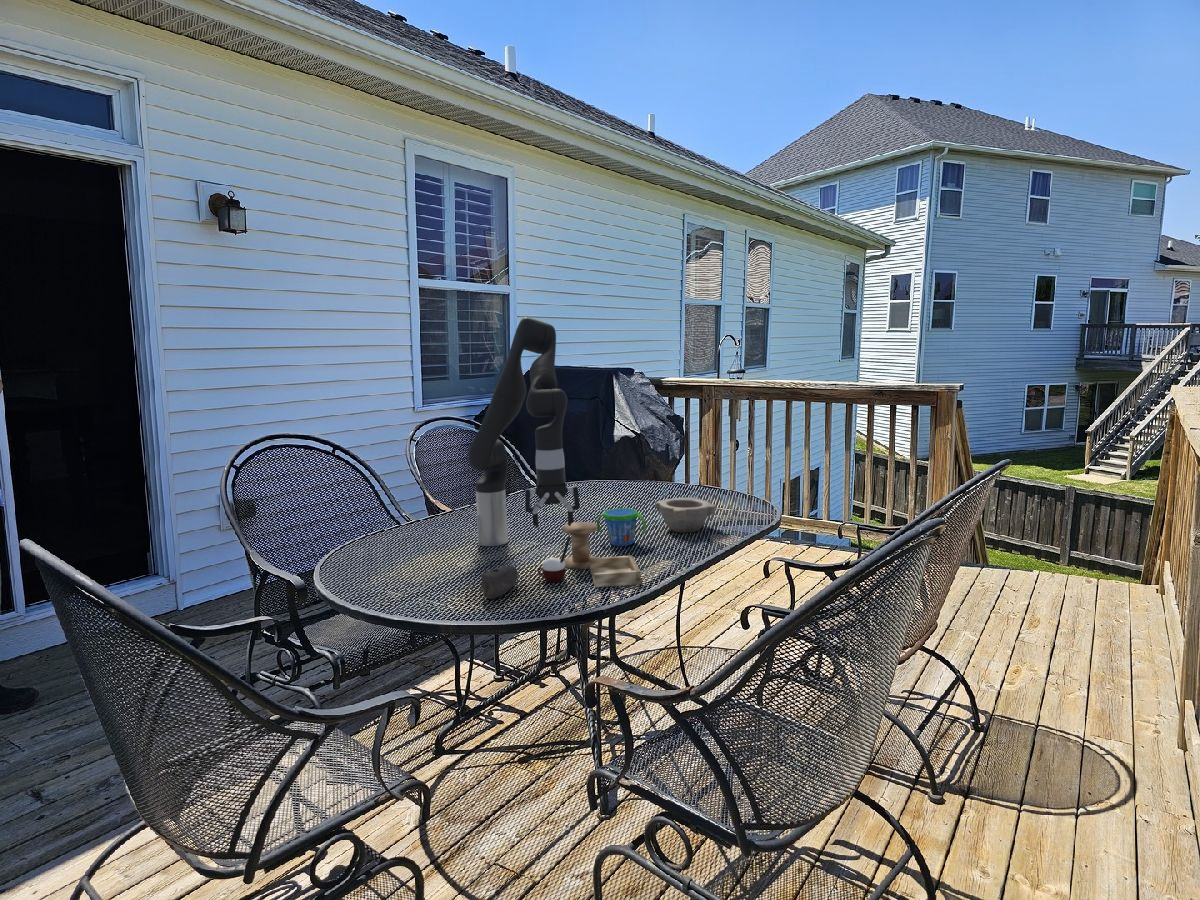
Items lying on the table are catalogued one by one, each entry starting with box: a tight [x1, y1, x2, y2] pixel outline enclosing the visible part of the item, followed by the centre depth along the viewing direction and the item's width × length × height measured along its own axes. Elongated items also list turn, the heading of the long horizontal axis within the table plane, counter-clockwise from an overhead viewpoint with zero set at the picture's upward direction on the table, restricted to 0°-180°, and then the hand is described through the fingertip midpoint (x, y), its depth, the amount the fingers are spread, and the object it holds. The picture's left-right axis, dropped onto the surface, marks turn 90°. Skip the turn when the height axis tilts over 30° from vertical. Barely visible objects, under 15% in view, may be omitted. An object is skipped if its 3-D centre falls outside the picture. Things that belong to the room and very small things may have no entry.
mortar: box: [654, 496, 718, 533], centre depth 242 cm, size 17×17×9 cm
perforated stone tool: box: [480, 565, 519, 600], centre depth 187 cm, size 15×5×7 cm, turn 153°
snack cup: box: [596, 507, 647, 547], centre depth 228 cm, size 16×10×10 cm
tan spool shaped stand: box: [561, 521, 598, 570], centre depth 209 cm, size 10×10×11 cm
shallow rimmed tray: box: [589, 555, 642, 588], centre depth 197 cm, size 12×15×3 cm
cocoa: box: [537, 536, 572, 584], centre depth 195 cm, size 10×6×12 cm, turn 51°
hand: (553, 526), depth 194 cm, fingers open, 8 cm apart
